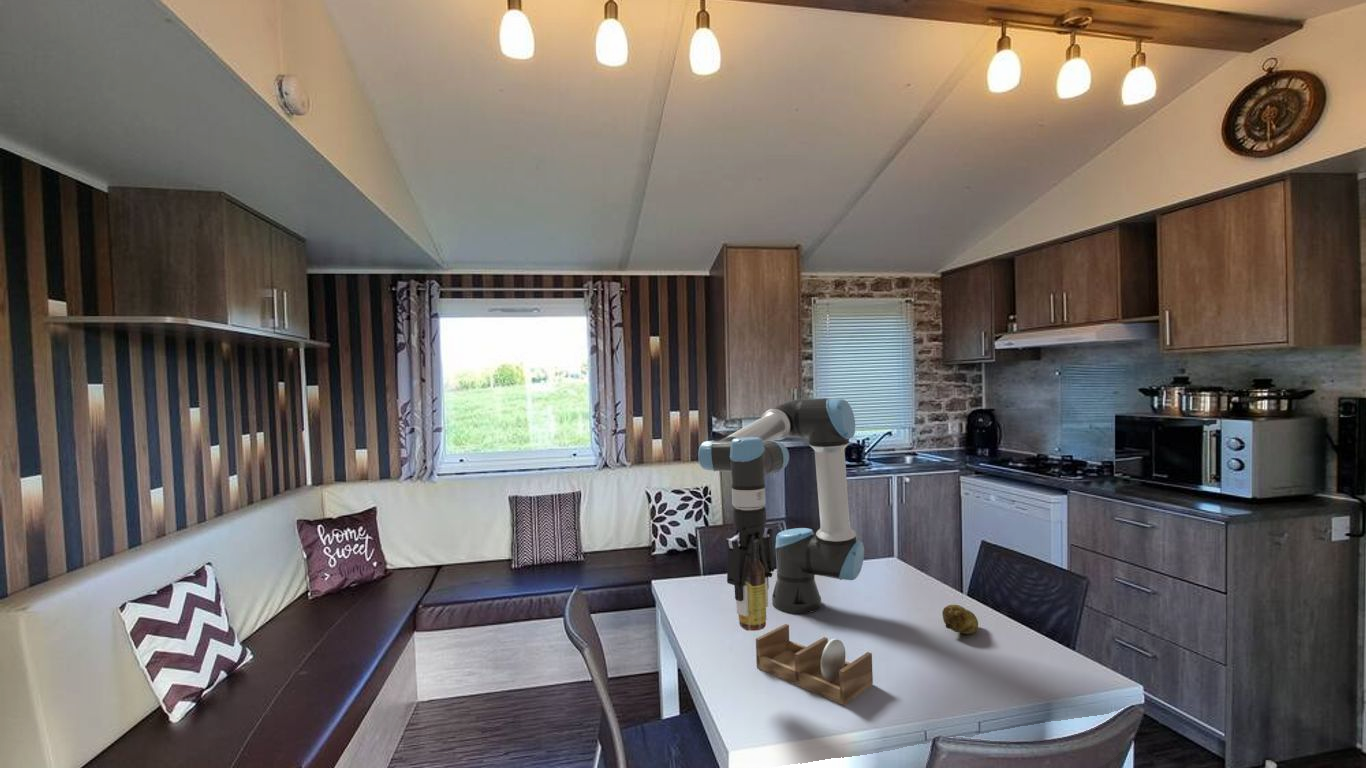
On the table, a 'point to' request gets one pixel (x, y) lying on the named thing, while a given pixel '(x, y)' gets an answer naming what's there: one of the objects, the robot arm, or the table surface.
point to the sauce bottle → (755, 592)
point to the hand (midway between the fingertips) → (752, 609)
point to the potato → (959, 619)
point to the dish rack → (814, 665)
